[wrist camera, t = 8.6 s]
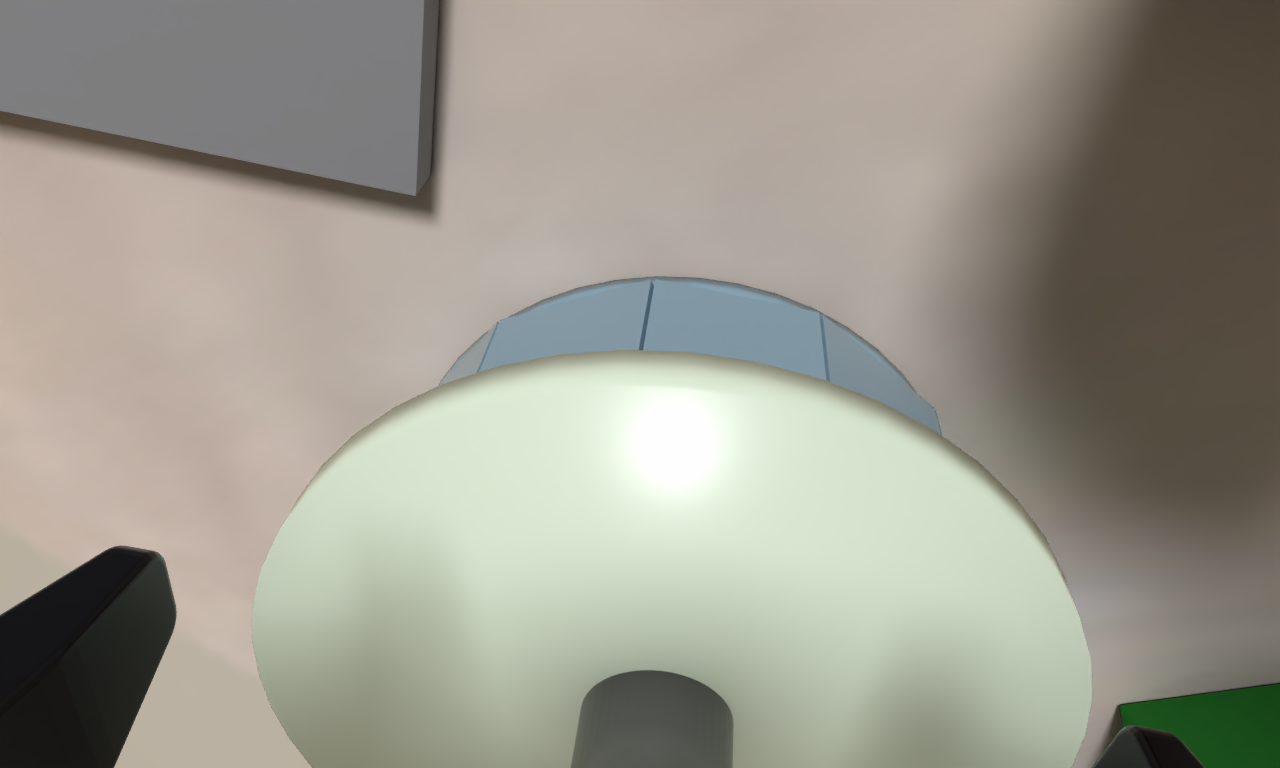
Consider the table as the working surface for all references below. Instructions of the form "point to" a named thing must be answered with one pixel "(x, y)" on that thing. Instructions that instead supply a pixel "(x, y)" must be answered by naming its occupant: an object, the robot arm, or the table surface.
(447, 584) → the lid
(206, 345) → the table surface
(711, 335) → the ring
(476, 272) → the table surface
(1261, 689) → the milk carton
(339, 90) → the mat
